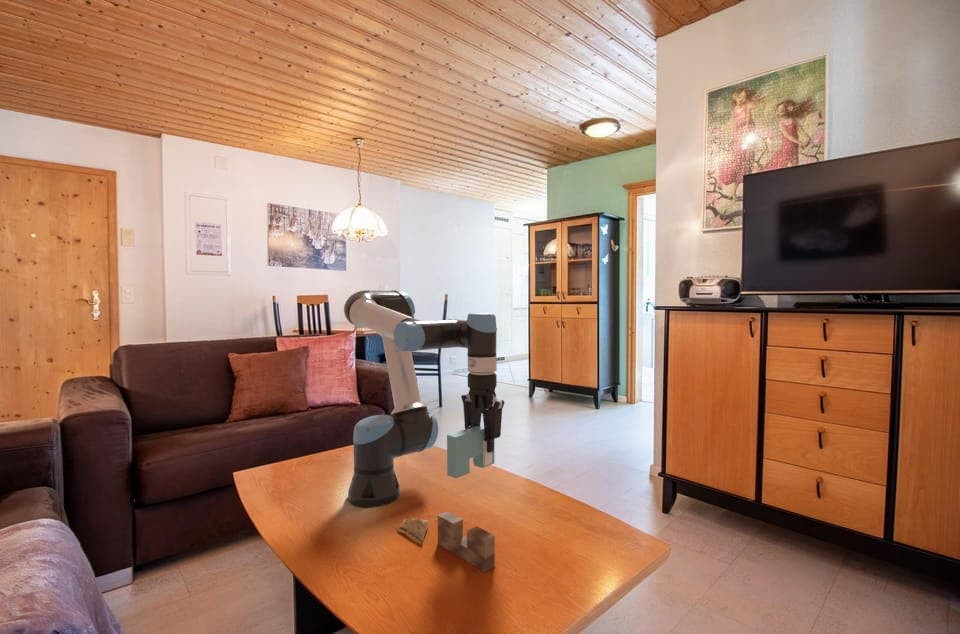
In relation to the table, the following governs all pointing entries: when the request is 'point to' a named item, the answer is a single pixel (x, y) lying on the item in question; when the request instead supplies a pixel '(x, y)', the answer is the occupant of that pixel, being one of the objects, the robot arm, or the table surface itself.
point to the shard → (414, 529)
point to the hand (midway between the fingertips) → (482, 462)
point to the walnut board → (466, 541)
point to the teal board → (465, 450)
